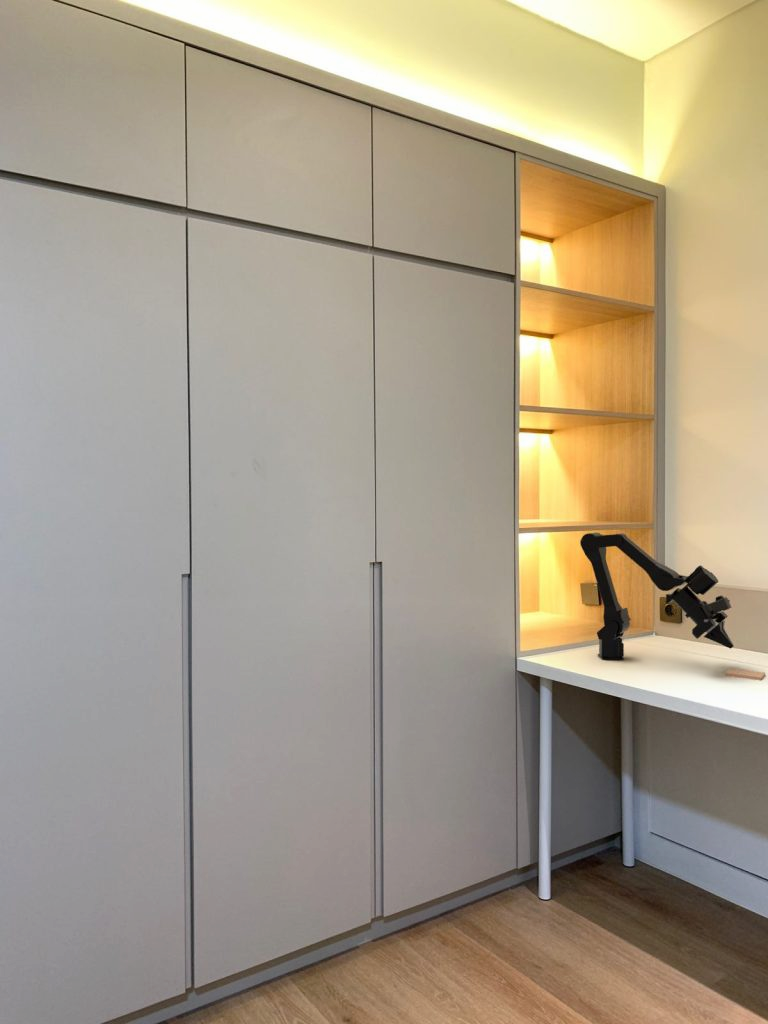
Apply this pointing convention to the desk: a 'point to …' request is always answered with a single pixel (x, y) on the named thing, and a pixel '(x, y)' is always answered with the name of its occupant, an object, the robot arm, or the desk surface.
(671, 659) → the desk surface
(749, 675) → the glazed tile
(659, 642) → the desk surface
